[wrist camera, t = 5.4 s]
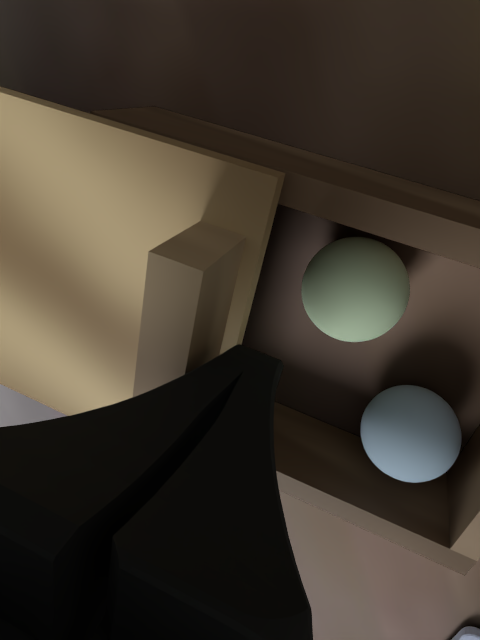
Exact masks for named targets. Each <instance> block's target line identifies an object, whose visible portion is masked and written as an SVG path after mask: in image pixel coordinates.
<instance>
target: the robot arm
mask: <svg viewBox="0 0 480 640" xmlns="http://www.w3.org/2000/svg"><path fill="white" fill-rule="evenodd" d="M283 367H284V366H283V364H282V362H281V360H278V359H276V358H273V357H271V356H268V355H266V354H263V353H260V352H258V351H255V350H253V349H250V348H248V347H245V346H243V345H240V344H238V345H235V346H233V347H232V348H230V349H228V350H227V351H225V352H224V353H222V354H220V355H219V356H217V357H215V358H214V359H212V360H210V361H208V362H207V363H205V364H203V365H201V366H199V367H198V368H196V369H194V370H192V371H190V372H188V373H186V374H184V375H182V376H180V377H178V378H176V379H174V380H172V381H170V382H168V383H166V384H163V385H161V386H159V387H157V388H155V389H152V390H150V391H148V392H145V393H143V394H140V395H138V396H135V397H132V398H129V399H127V400H124V401H121V402H118V403H115V404H112V405H108V406H105V407H101V408H97V409H94V410H90V411H86V412H82V413H79V414H75V415H71V416H66V417H61V418H56V419H51V420H46V421H40V422H35V423H29V424H22V425H16V426H7V427H0V640H313V632H312V613H311V607H310V604H309V601H308V598H307V595H306V593H305V590H304V587H303V584H302V581H301V578H300V574H299V571H298V568H297V565H296V562H295V558H294V554H293V551H292V547H291V544H290V540H289V536H288V532H287V527H286V522H285V518H284V513H283V509H282V504H281V500H280V494H279V487H278V481H277V473H276V464H275V453H274V403H275V394H276V388H277V385H278V382H279V379H280V376H281V373H282V370H283ZM451 640H480V629H479V628H476V627H472V626H467V627H464V628H462V629H461V630H460V631H459V632H458V633H457V634H456V635H455V636H454V637H453V638H452V639H451Z"/></svg>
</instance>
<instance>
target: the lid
mask: <svg viewBox="0 0 480 640" xmlns="http://www.w3.org/2000/svg"><path fill="white" fill-rule="evenodd" d="M284 177H285V173H283V172H280V171H276V170H273V169H270V168H266V167H263V166H260V165H257V164H253V163H250V162H247V161H244V160H240V159H237V158H234V157H230V156H227V155H224V154H221V153H217V152H214V151H211V150H207V149H204V148H201V147H198V146H194V145H191V144H188V143H184V142H181V141H178V140H175V139H171V138H168V137H165V136H161V135H158V134H155V133H152V132H148V131H145V130H142V129H139V128H135V127H132V126H129V125H125V124H122V123H119V122H116V121H112V120H109V119H106V118H102V117H99V116H96V115H93V114H89V113H86V112H83V111H79V110H76V109H73V108H70V107H66V106H63V105H60V104H56V103H53V102H50V101H47V100H43V99H40V98H37V97H34V96H30V95H27V94H24V93H20V92H17V91H14V90H11V89H7V88H4V87H1V86H0V384H2V385H4V386H6V387H8V388H10V389H12V390H14V391H17V392H19V393H21V394H23V395H25V396H27V397H29V398H31V399H34V400H36V401H38V402H40V403H42V404H44V405H46V406H48V407H51V408H53V409H55V410H57V411H59V412H61V413H63V414H65V415H68V416H71V415H75V414H79V413H82V412H86V411H90V410H94V409H97V408H101V407H105V406H108V405H112V404H115V403H118V402H121V401H124V400H127V399H129V398H132V397H135V396H138V395H140V394H143V393H145V392H148V391H150V390H152V389H155V388H157V387H159V386H161V385H163V384H166V383H168V382H170V381H172V380H174V379H176V378H178V377H180V376H182V375H184V374H186V373H188V372H190V371H192V370H194V369H196V368H198V367H199V366H201V365H203V364H205V363H207V362H208V361H210V360H212V359H214V358H215V357H217V356H219V355H220V354H222V353H224V352H225V351H227V350H228V349H230V348H232V347H233V346H235V345H238V344H240V345H242V341H243V337H244V333H245V329H246V326H247V322H248V318H249V314H250V310H251V306H252V302H253V298H254V294H255V290H256V287H257V283H258V279H259V275H260V271H261V267H262V263H263V259H264V255H265V251H266V247H267V244H268V240H269V236H270V232H271V228H272V224H273V220H274V216H275V212H276V208H277V205H278V201H279V197H280V193H281V189H282V185H283V181H284Z"/></svg>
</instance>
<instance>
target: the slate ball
mask: <svg viewBox="0 0 480 640" xmlns="http://www.w3.org/2000/svg"><path fill="white" fill-rule="evenodd" d="M360 432H361V439H362V443H363V446H364V449H365V451H366V453H367V455H368V456H369V458H370V460H371V461H372V462H373V463H374V464H375V465H376V466H377V467H378V468H379V469H380V470H381V471H382V472H384V473H385V474H387V475H389V476H391V477H393V478H395V479H398V480H401V481H405V482H412V483H418V482H425V481H430V480H433V479H435V478H437V477H439V476H441V475H442V474H444V473H445V472H446V471H447V470H448V469H449V468H450V467H451V466H452V465H453V464H454V462H455V460H456V458H457V457H458V454H459V451H460V448H461V439H462V437H461V428H460V424H459V421H458V419H457V416H456V414H455V413H454V411H453V409H452V408H451V407H450V406H449V404H448V403H447V402H446V401H445V400H444V399H443V398H441V397H440V396H439V395H437V394H436V393H434V392H432V391H430V390H428V389H426V388H423V387H419V386H413V385H400V386H394V387H391V388H388V389H386V390H384V391H382V392H381V393H379V394H378V395H376V396H375V397H374V398H373V399H372V400H371V401H370V403H369V404H368V406H367V407H366V409H365V411H364V413H363V416H362V420H361V430H360Z"/></svg>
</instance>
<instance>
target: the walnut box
mask: <svg viewBox="0 0 480 640" xmlns="http://www.w3.org/2000/svg"><path fill="white" fill-rule="evenodd" d="M90 114H93V115H96V116H99V117H102V118H106V119H109V120H112V121H116V122H119V123H122V124H125V125H129V126H132V127H135V128H139V129H142V130H145V131H148V132H152V133H155V134H158V135H161V136H165V137H168V138H171V139H175V140H178V141H181V142H184V143H188V144H191V145H194V146H198V147H201V148H204V149H207V150H211V151H214V152H217V153H221V154H224V155H227V156H230V157H234V158H237V159H240V160H244V161H247V162H250V163H253V164H257V165H260V166H263V167H266V168H270V169H273V170H276V171H280V172H283V173H285V177H284V181H283V185H282V189H281V193H280V197H279V201H278V204H280V205H284V206H287V207H290V208H293V209H296V210H299V211H302V212H305V213H309V214H312V215H315V216H318V217H321V218H324V219H327V220H330V221H334V222H337V223H340V224H343V225H346V226H349V227H352V228H355V229H358V230H362V231H365V232H368V233H371V234H374V235H377V236H380V237H383V238H387V239H390V240H393V241H396V242H399V243H402V244H405V245H408V246H412V247H415V248H418V249H421V250H424V251H427V252H430V253H433V254H436V255H440V256H443V257H446V258H449V259H452V260H455V261H458V262H461V263H465V264H468V265H471V266H474V267H477V268H480V201H478V200H474V199H471V198H467V197H464V196H460V195H457V194H454V193H450V192H447V191H443V190H440V189H436V188H433V187H430V186H426V185H423V184H419V183H416V182H412V181H409V180H405V179H402V178H399V177H395V176H392V175H388V174H385V173H381V172H378V171H375V170H371V169H368V168H364V167H361V166H357V165H354V164H350V163H347V162H344V161H340V160H337V159H333V158H330V157H326V156H323V155H320V154H316V153H313V152H309V151H306V150H302V149H299V148H295V147H292V146H289V145H285V144H282V143H278V142H275V141H271V140H268V139H265V138H261V137H258V136H254V135H251V134H247V133H244V132H240V131H237V130H234V129H230V128H227V127H223V126H220V125H216V124H213V123H210V122H206V121H203V120H199V119H196V118H192V117H189V116H185V115H182V114H179V113H175V112H172V111H168V110H165V109H161V108H158V107H155V106H151V107H137V108H124V109H110V110H97V111H90ZM274 453H275V464H276V473H277V481H278V487H279V491H281V492H284V493H286V494H288V495H290V496H292V497H294V498H297V499H299V500H301V501H303V502H305V503H308V504H310V505H312V506H314V507H316V508H318V509H321V510H323V511H325V512H327V513H329V514H331V515H334V516H336V517H338V518H340V519H342V520H345V521H347V522H349V523H351V524H353V525H355V526H358V527H360V528H362V529H364V530H366V531H368V532H371V533H373V534H375V535H377V536H379V537H382V538H384V539H386V540H388V541H390V542H392V543H395V544H397V545H399V546H401V547H403V548H406V549H408V550H410V551H412V552H414V553H416V554H419V555H421V556H423V557H425V558H427V559H429V560H432V561H434V562H436V563H438V564H440V565H443V566H445V567H447V568H449V569H451V570H453V571H456V572H458V573H460V574H462V575H464V576H465V575H466V574H467V573H468V571H469V570H470V569H471V568H472V567H473V565H474V564H475V563H476V562H477V561H478V560H479V558H480V425H479V427H478V428H477V430H476V431H475V433H474V434H473V435H472V437H471V438H470V440H469V441H468V443H467V444H466V446H465V447H464V449H463V450H462V452H461V453H460V455H459V456H458V458H457V459H456V461H455V462H454V464H453V465H452V467H451V468H450V470H449V471H448V473H444V474H442V475H441V476H439V477H437V478H435V479H433V480H430V481H425V482H418V483H412V482H405V481H401V480H398V479H395V478H393V477H391V476H389V475H387V474H385V473H384V472H382V471H381V470H380V469H379V468H378V467H377V466H376V465H375V464H374V463H373V462H372V461H371V460H370V458H369V456H368V455H367V453H366V451H365V449H364V446H363V443H362V439H361V438H360V437H358V436H356V435H353V434H351V433H348V432H346V431H344V430H341V429H339V428H337V427H334V426H332V425H329V424H327V423H325V422H322V421H320V420H317V419H315V418H313V417H310V416H308V415H305V414H303V413H301V412H298V411H296V410H293V409H291V408H289V407H286V406H284V405H281V404H279V403H277V402H275V403H274Z"/></svg>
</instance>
